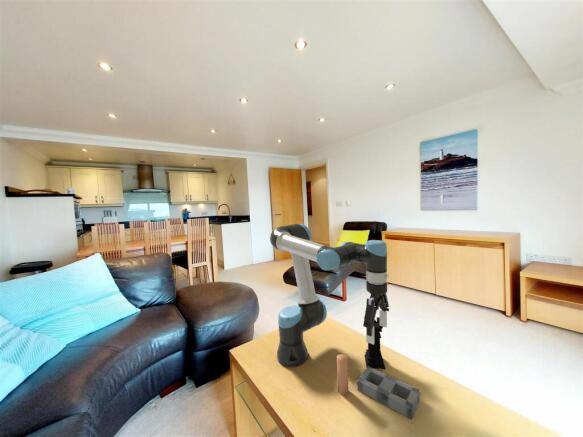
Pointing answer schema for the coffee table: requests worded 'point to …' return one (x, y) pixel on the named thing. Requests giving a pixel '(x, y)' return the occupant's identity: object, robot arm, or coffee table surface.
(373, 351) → the chess piece
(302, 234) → the robot arm
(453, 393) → the coffee table surface
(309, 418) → the coffee table surface
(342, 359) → the dowel
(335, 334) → the coffee table surface
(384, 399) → the socket board
